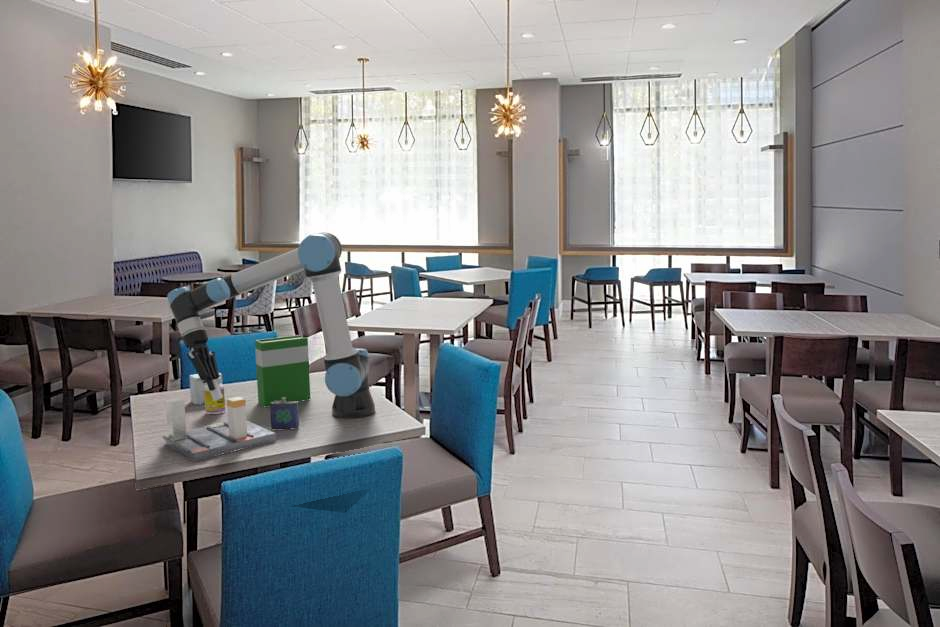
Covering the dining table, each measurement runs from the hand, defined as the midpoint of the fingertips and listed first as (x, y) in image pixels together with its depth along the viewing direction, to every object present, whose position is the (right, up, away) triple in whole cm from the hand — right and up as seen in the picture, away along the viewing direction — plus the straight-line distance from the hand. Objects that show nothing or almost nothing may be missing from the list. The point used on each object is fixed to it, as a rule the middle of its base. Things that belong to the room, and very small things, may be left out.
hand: (218, 399), depth 237 cm
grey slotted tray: (+3, -13, -7) cm, 15 cm away
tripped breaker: (+10, -10, -10) cm, 17 cm away
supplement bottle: (-10, -8, +25) cm, 28 cm away
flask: (+20, -11, +6) cm, 24 cm away
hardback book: (+11, -6, +40) cm, 42 cm away
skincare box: (-18, -6, +42) cm, 46 cm away
